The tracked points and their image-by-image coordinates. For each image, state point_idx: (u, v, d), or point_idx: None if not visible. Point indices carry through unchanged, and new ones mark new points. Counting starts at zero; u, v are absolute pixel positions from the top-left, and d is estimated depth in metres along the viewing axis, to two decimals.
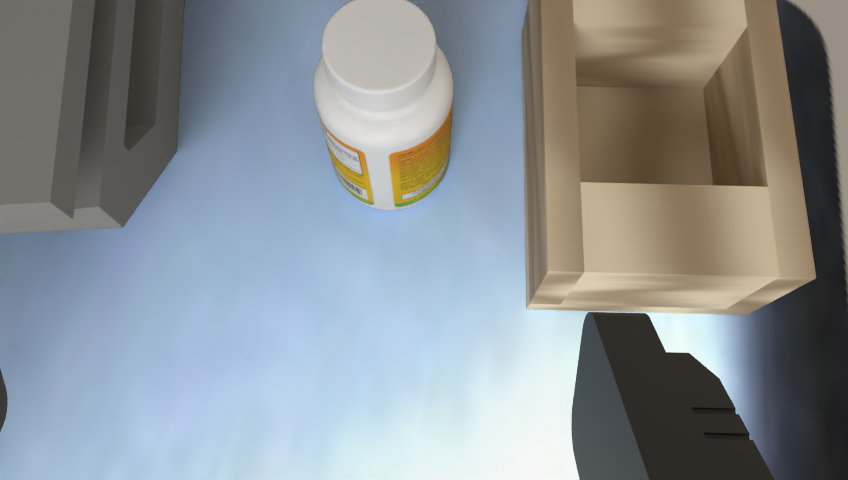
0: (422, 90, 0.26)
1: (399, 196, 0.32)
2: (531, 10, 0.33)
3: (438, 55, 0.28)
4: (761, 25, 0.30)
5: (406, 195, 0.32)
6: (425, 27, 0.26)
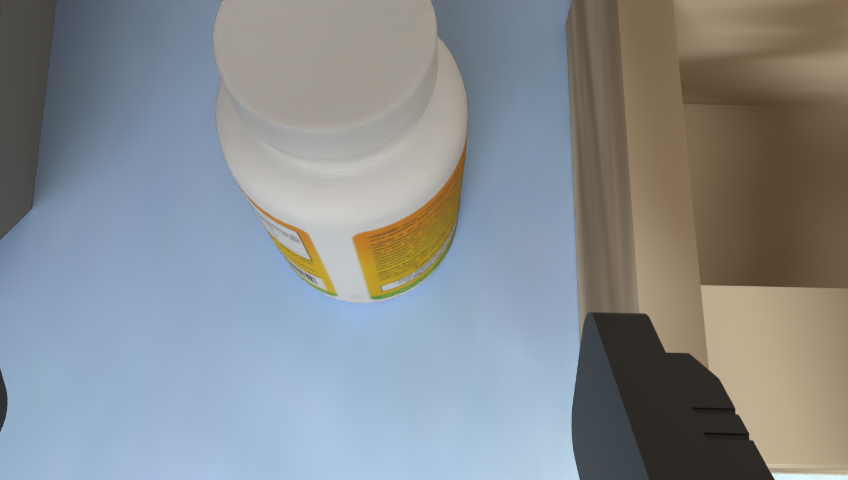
0: (410, 121, 0.13)
1: (376, 288, 0.20)
2: None
3: (440, 55, 0.15)
4: None
5: (389, 286, 0.20)
6: (416, 1, 0.13)
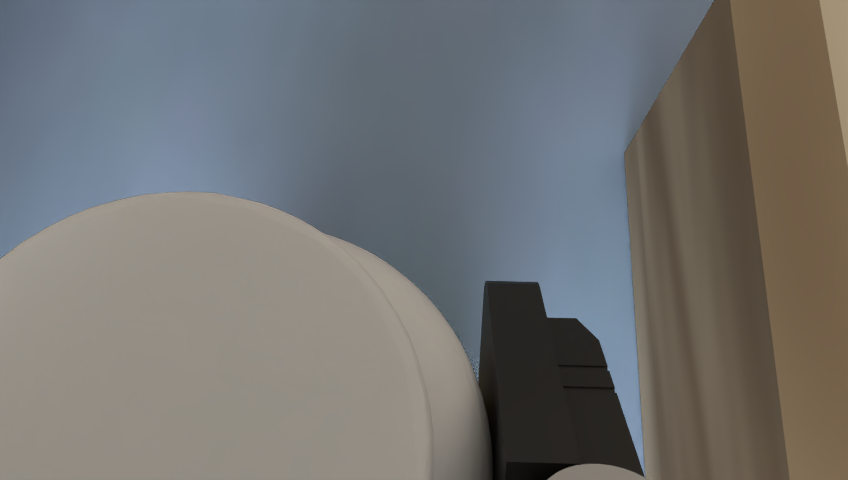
0: None
1: None
2: (676, 127, 0.13)
3: (440, 369, 0.08)
4: None
5: None
6: (379, 365, 0.05)
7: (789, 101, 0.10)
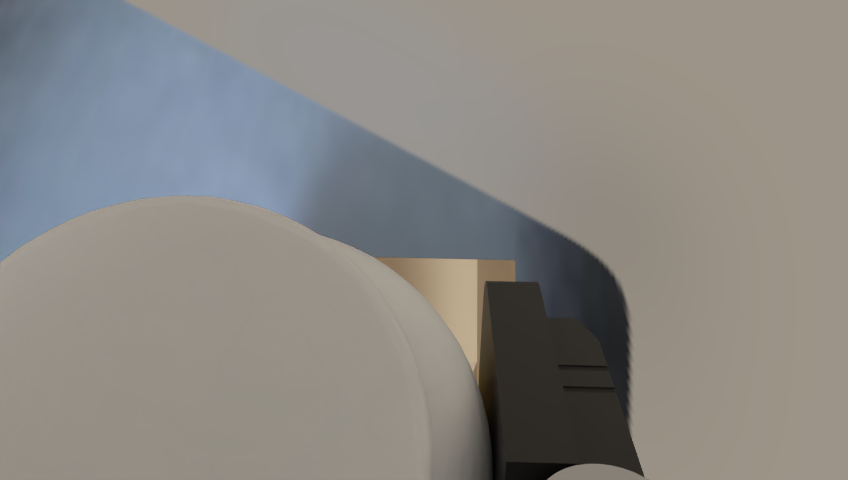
0: None
1: None
2: None
3: (440, 371, 0.08)
4: None
5: None
6: (379, 370, 0.05)
7: None
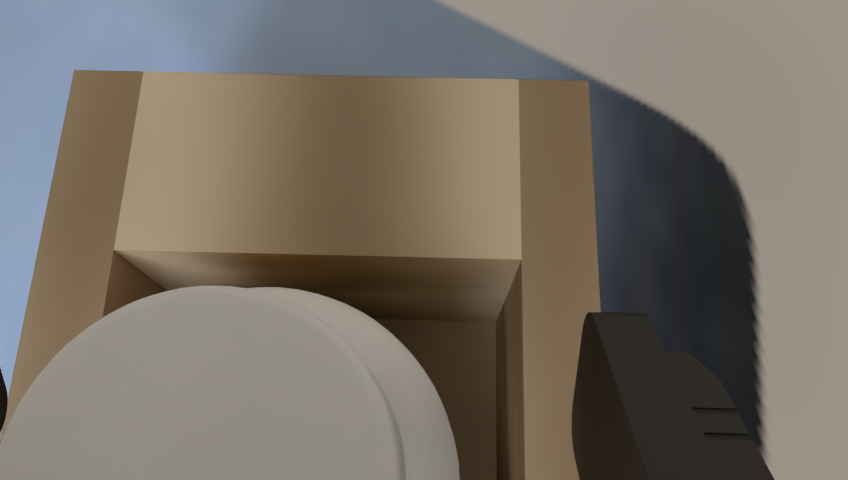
0: None
1: None
2: None
3: (416, 411, 0.09)
4: (555, 257, 0.13)
5: None
6: (362, 424, 0.07)
7: (90, 170, 0.13)
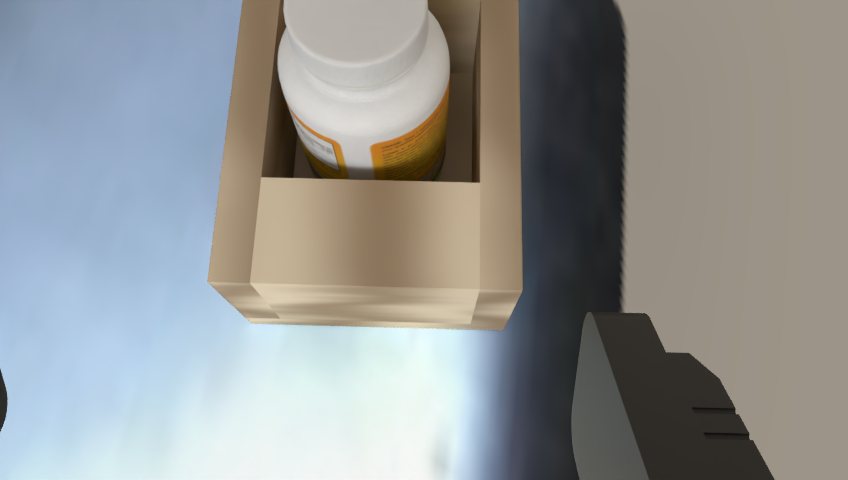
0: (410, 64, 0.21)
1: None
2: None
3: (431, 23, 0.23)
4: None
5: None
6: None
7: None
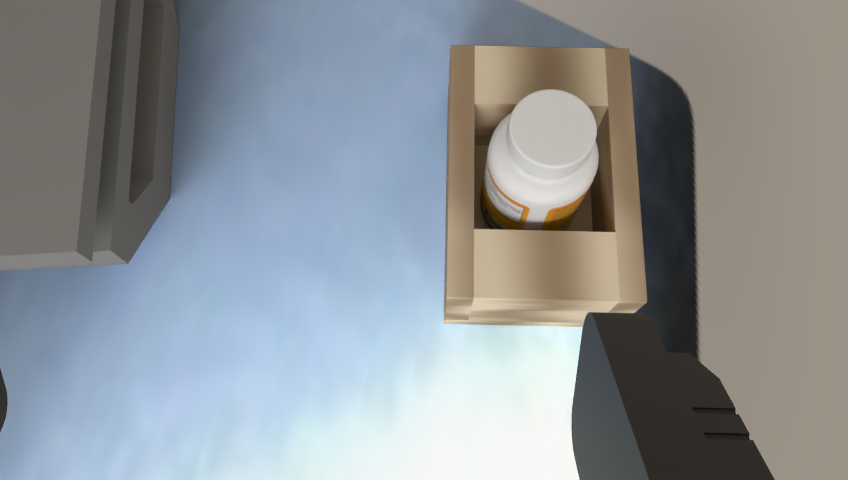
0: (584, 163, 0.34)
1: None
2: None
3: None
4: (619, 105, 0.39)
5: None
6: (588, 115, 0.33)
7: (462, 78, 0.39)
